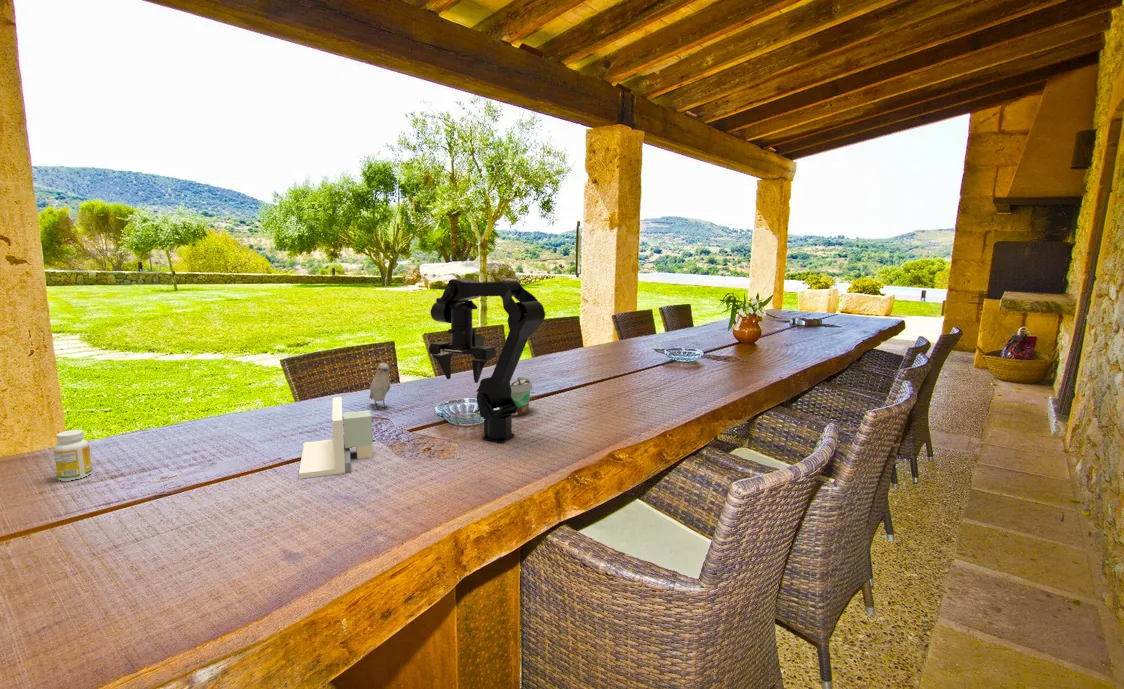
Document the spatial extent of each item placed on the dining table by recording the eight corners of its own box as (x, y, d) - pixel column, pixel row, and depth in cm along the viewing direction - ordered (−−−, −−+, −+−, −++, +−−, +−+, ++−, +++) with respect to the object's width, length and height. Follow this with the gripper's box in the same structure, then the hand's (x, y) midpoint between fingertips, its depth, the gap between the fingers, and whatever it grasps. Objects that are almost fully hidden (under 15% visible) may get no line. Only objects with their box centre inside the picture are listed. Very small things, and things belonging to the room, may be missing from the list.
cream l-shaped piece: (348, 442, 132) (346, 396, 130) (351, 472, 114) (348, 419, 112) (304, 447, 128) (301, 399, 126) (299, 478, 110) (295, 424, 108)
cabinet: (372, 449, 127) (371, 410, 126) (374, 456, 123) (372, 416, 121) (345, 452, 125) (343, 412, 123) (345, 460, 120) (343, 418, 119)
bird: (381, 415, 155) (379, 365, 152) (364, 405, 165) (362, 358, 162) (397, 412, 158) (395, 363, 155) (379, 402, 168) (378, 356, 165)
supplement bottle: (67, 483, 106) (60, 438, 104) (52, 479, 108) (45, 434, 106) (98, 474, 111) (92, 430, 109) (83, 469, 112) (77, 427, 111)
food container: (526, 420, 153) (526, 387, 151) (506, 418, 154) (506, 385, 152) (536, 408, 165) (536, 377, 163) (517, 407, 166) (518, 376, 164)
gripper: (506, 324, 145) (506, 378, 148) (451, 319, 153) (452, 371, 155) (484, 328, 135) (485, 387, 138) (426, 323, 143) (428, 379, 145)
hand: (462, 380), depth 144 cm, fingers open, 9 cm apart
